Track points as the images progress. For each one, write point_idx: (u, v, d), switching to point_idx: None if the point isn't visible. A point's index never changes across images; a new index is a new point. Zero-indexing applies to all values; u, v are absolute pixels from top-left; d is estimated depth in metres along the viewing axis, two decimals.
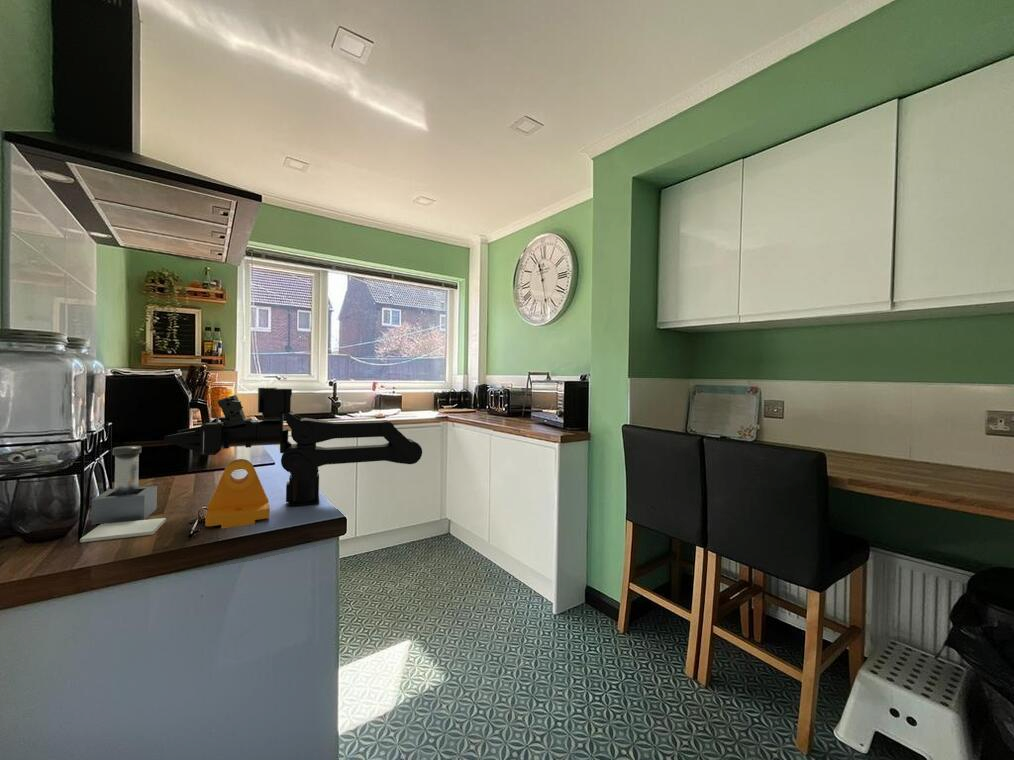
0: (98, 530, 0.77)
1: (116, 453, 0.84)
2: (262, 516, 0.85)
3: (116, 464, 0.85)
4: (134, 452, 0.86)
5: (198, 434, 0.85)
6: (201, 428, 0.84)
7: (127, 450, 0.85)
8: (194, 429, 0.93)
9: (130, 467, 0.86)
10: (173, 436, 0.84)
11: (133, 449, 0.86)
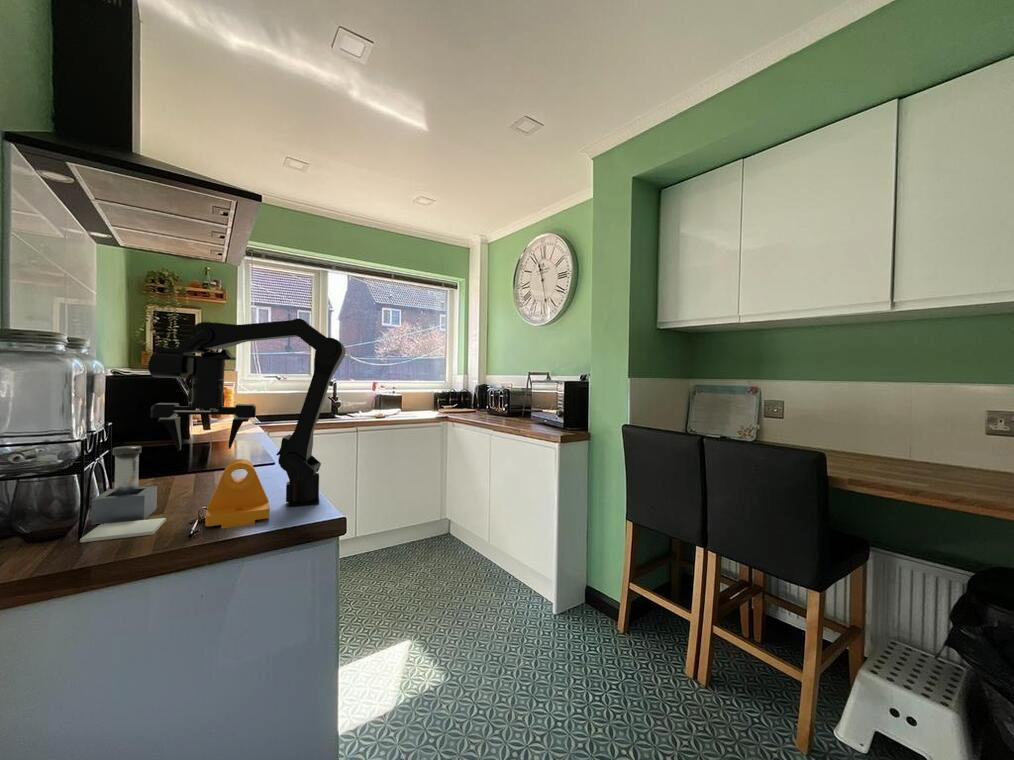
0: (98, 530, 0.77)
1: (116, 453, 0.84)
2: (262, 516, 0.85)
3: (116, 464, 0.85)
4: (134, 452, 0.86)
5: None
6: None
7: (127, 450, 0.85)
8: None
9: (130, 467, 0.86)
10: None
11: (133, 449, 0.86)
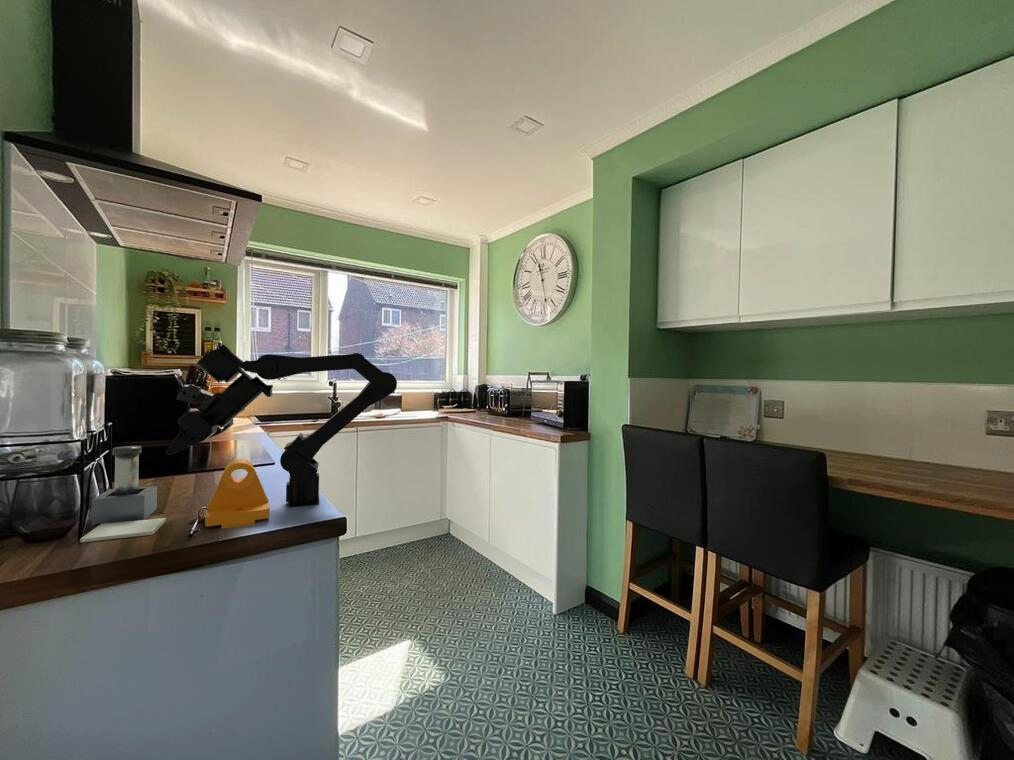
0: (98, 530, 0.77)
1: (116, 453, 0.84)
2: (262, 516, 0.85)
3: (116, 464, 0.85)
4: (134, 452, 0.86)
5: (186, 430, 0.85)
6: (180, 423, 0.83)
7: (127, 450, 0.85)
8: None
9: (130, 467, 0.86)
10: (171, 446, 0.85)
11: (133, 449, 0.86)
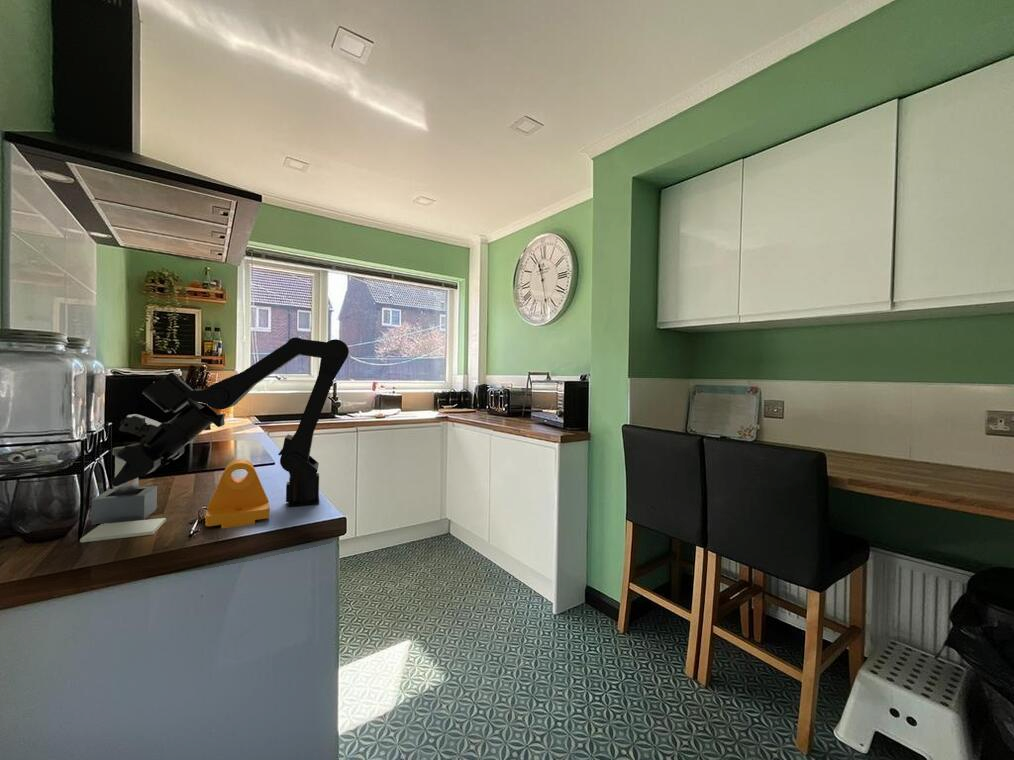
0: (98, 530, 0.77)
1: (116, 453, 0.84)
2: (262, 516, 0.85)
3: (116, 464, 0.85)
4: None
5: None
6: None
7: None
8: None
9: None
10: (116, 478, 0.84)
11: None
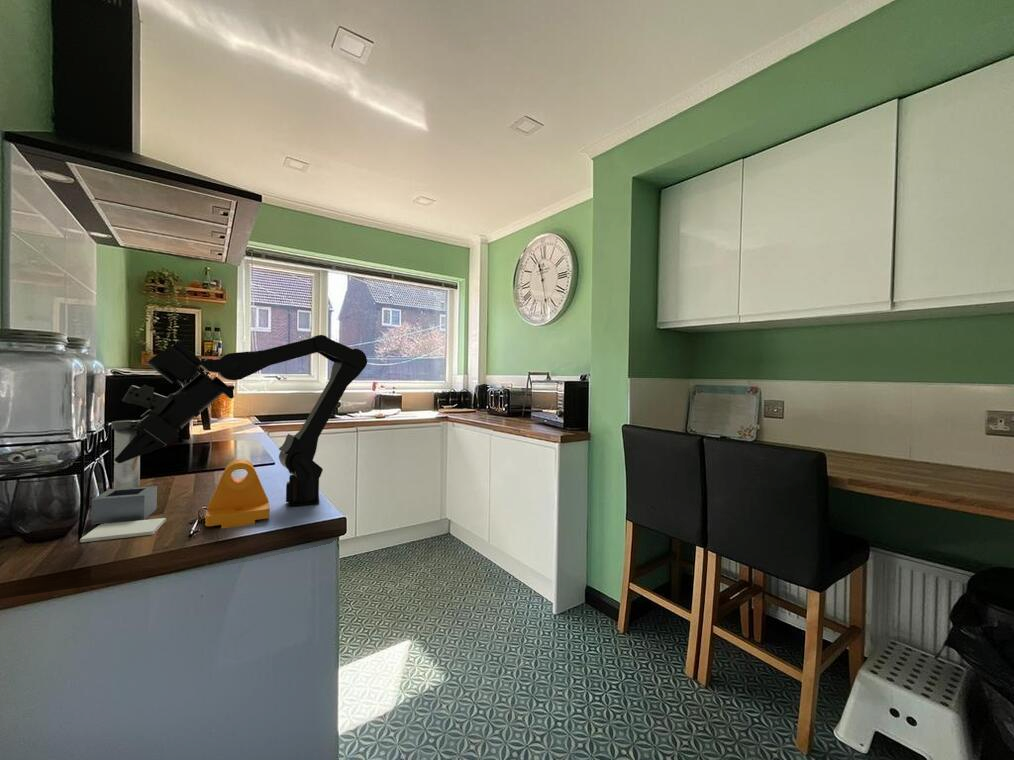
0: (98, 530, 0.77)
1: (119, 427, 0.77)
2: (262, 516, 0.85)
3: (118, 439, 0.77)
4: None
5: (142, 435, 0.78)
6: (139, 428, 0.76)
7: (133, 423, 0.78)
8: None
9: None
10: (122, 453, 0.77)
11: (138, 422, 0.79)
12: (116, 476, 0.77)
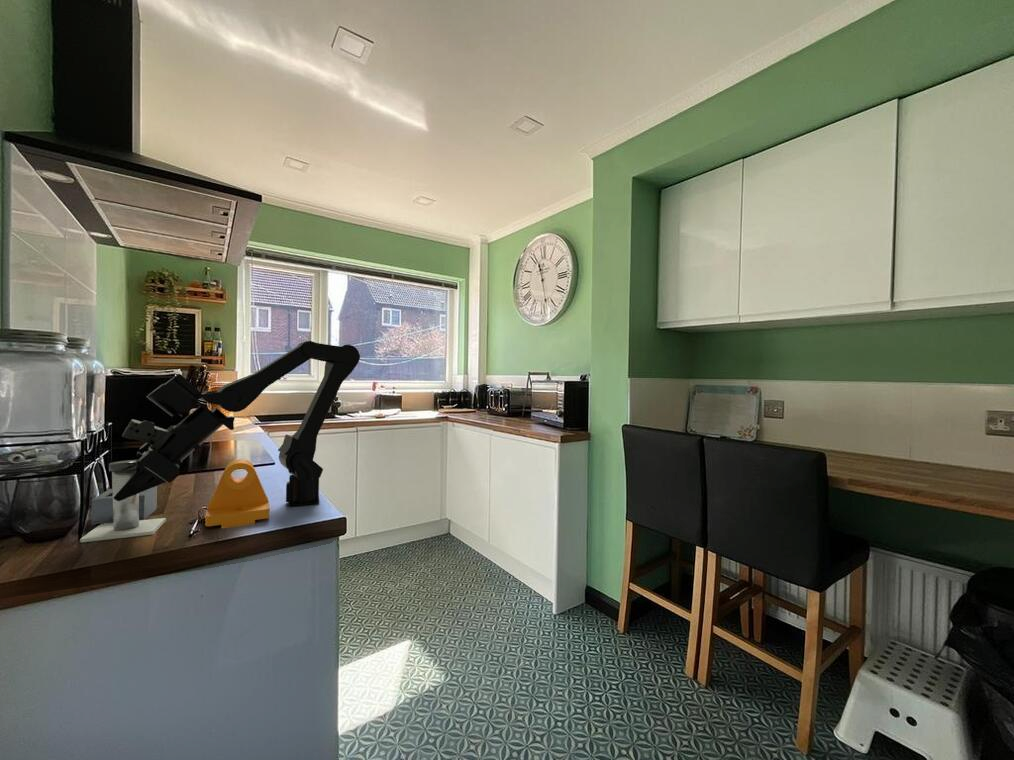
0: (98, 530, 0.77)
1: (117, 469, 0.77)
2: (262, 516, 0.85)
3: (116, 481, 0.77)
4: None
5: (142, 472, 0.76)
6: (139, 465, 0.75)
7: (130, 464, 0.78)
8: None
9: None
10: (121, 491, 0.75)
11: None
12: (115, 518, 0.77)
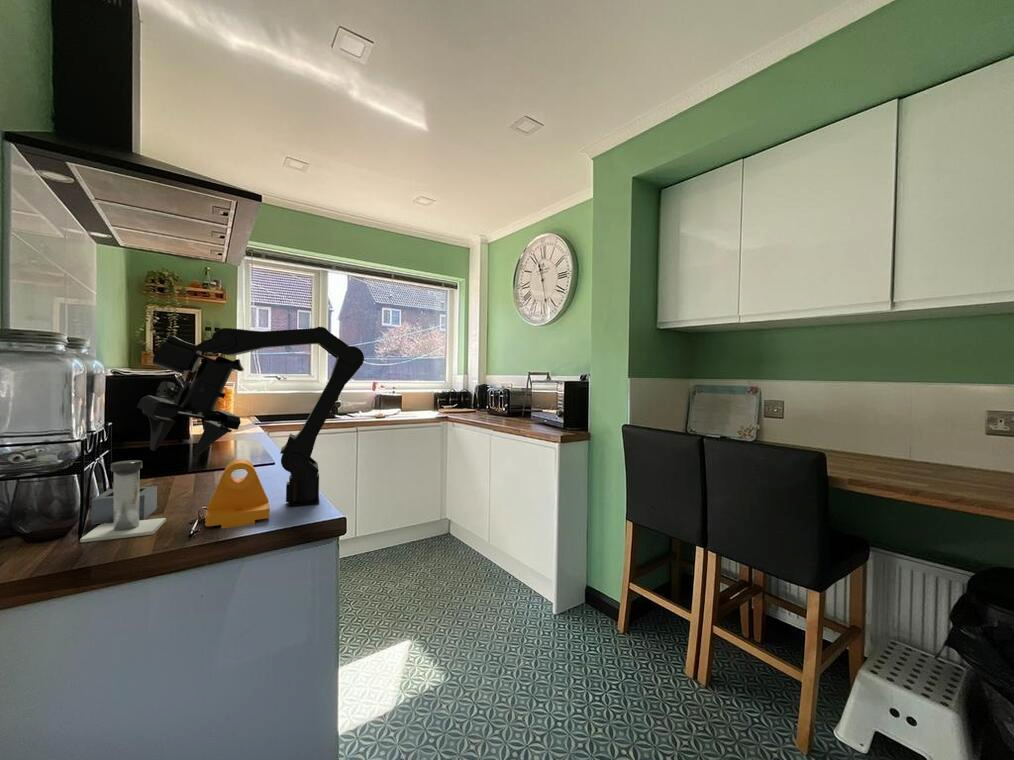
0: (98, 530, 0.77)
1: (119, 469, 0.76)
2: (262, 516, 0.85)
3: (117, 481, 0.77)
4: (138, 467, 0.79)
5: (155, 419, 0.84)
6: (143, 412, 0.83)
7: (132, 465, 0.78)
8: (200, 439, 0.93)
9: (134, 483, 0.78)
10: (151, 441, 0.84)
11: (137, 464, 0.78)
12: (116, 518, 0.77)
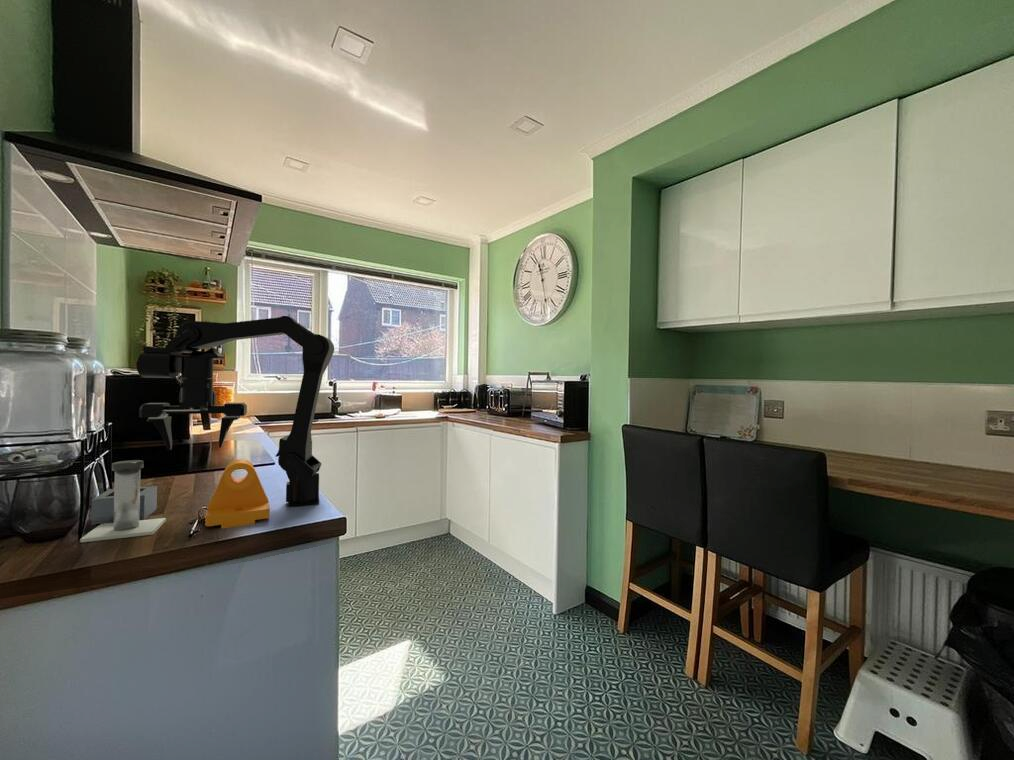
0: (98, 530, 0.77)
1: (120, 468, 0.77)
2: (262, 516, 0.85)
3: (118, 481, 0.77)
4: (139, 466, 0.79)
5: None
6: None
7: (133, 464, 0.78)
8: None
9: (135, 482, 0.79)
10: None
11: (138, 463, 0.79)
12: (116, 518, 0.77)
